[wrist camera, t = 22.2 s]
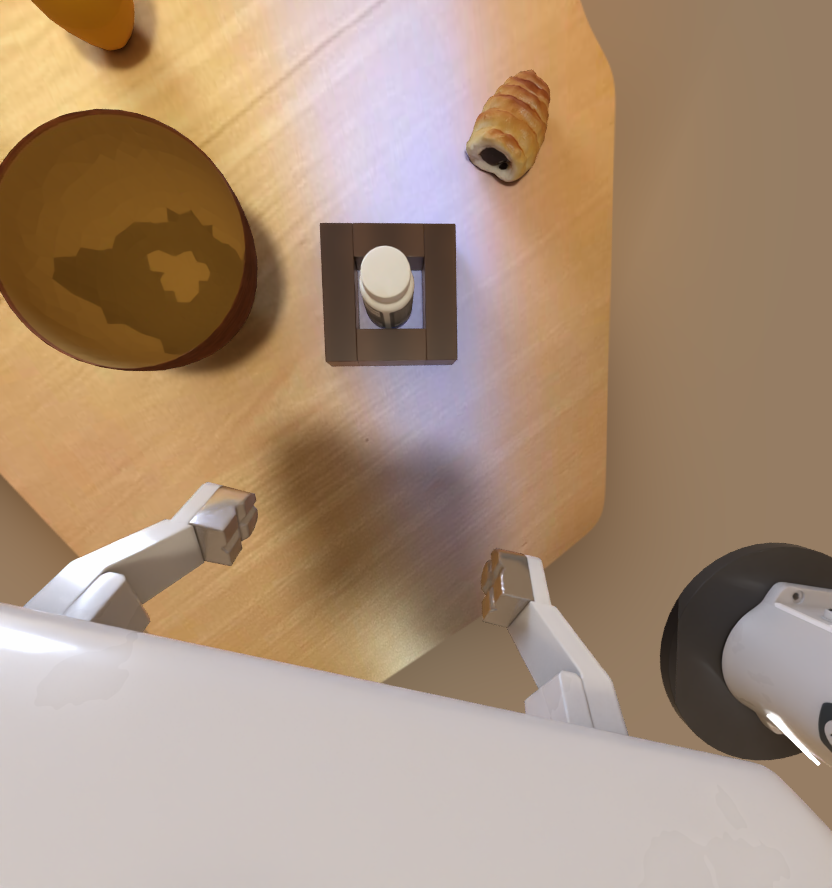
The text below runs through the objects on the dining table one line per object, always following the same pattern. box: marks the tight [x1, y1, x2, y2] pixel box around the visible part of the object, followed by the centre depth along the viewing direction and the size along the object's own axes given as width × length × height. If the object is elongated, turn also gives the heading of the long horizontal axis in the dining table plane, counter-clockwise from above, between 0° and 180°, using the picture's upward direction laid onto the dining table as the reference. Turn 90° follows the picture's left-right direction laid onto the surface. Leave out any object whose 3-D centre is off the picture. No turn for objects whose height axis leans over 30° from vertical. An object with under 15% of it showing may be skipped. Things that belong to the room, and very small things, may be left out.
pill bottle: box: [359, 246, 414, 329], centre depth 31 cm, size 5×5×8 cm
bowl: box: [0, 109, 258, 371], centre depth 29 cm, size 18×18×10 cm
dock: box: [320, 223, 457, 366], centre depth 33 cm, size 13×13×3 cm
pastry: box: [466, 70, 550, 182], centre depth 32 cm, size 9×7×4 cm
